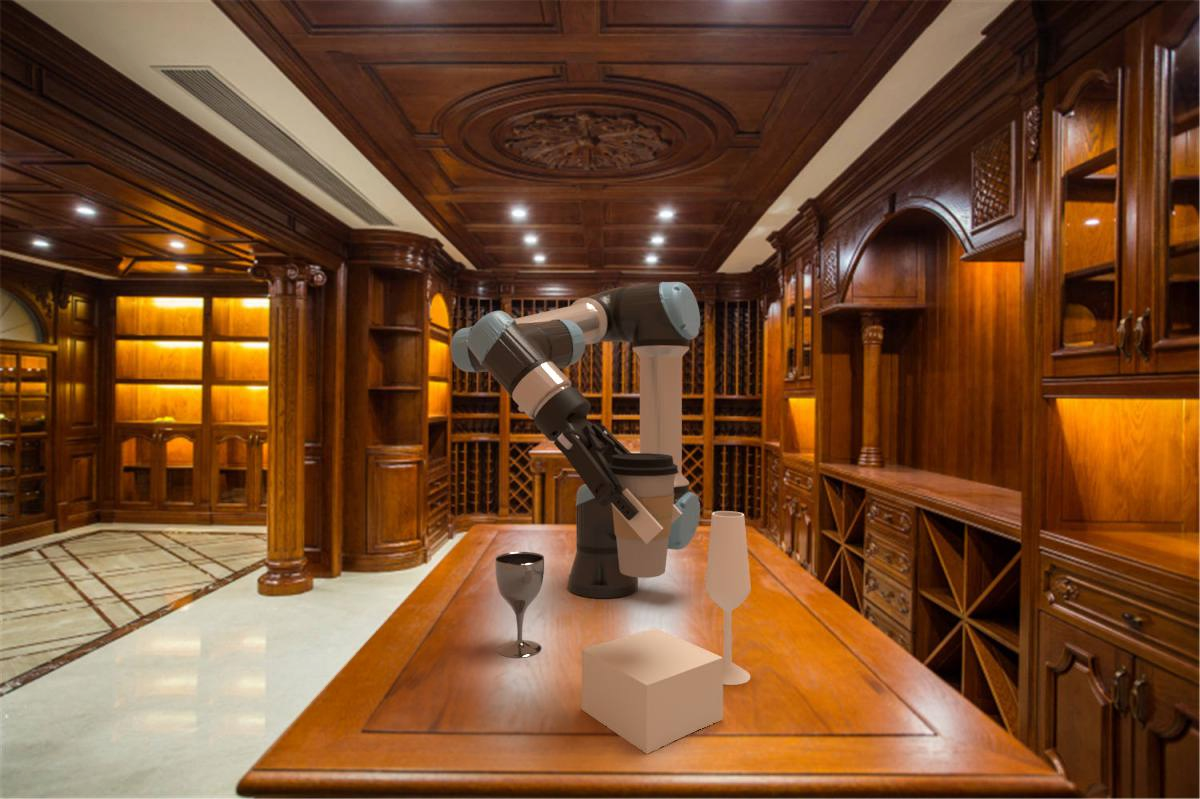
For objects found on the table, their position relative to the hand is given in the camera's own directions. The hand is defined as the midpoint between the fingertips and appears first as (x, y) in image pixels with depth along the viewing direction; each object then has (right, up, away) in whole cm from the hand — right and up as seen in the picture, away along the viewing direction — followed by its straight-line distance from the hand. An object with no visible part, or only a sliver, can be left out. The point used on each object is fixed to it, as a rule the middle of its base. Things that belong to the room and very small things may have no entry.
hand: (665, 527), depth 80 cm
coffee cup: (-3, -6, +1) cm, 7 cm away
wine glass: (-22, -25, +23) cm, 40 cm away
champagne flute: (+11, -25, +13) cm, 30 cm away
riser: (-2, -25, +1) cm, 25 cm away
